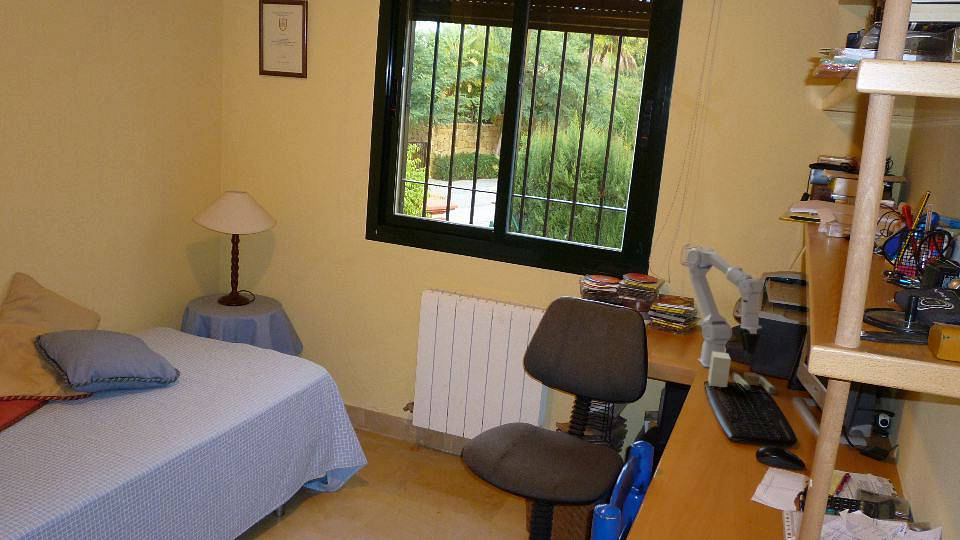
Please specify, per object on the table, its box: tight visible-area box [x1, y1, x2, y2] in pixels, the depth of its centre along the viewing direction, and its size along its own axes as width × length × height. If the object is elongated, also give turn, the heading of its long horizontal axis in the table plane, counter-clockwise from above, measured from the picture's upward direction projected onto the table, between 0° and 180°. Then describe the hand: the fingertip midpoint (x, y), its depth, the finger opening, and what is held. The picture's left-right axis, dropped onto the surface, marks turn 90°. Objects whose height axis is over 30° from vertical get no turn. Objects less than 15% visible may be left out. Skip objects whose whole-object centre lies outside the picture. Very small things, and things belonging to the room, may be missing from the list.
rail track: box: [731, 372, 777, 396], centre depth 272 cm, size 15×10×2 cm, turn 0°
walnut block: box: [742, 371, 760, 387], centre depth 275 cm, size 4×4×4 cm
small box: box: [707, 351, 732, 388], centre depth 269 cm, size 8×6×10 cm
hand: (748, 352), depth 279 cm, fingers open, 7 cm apart
